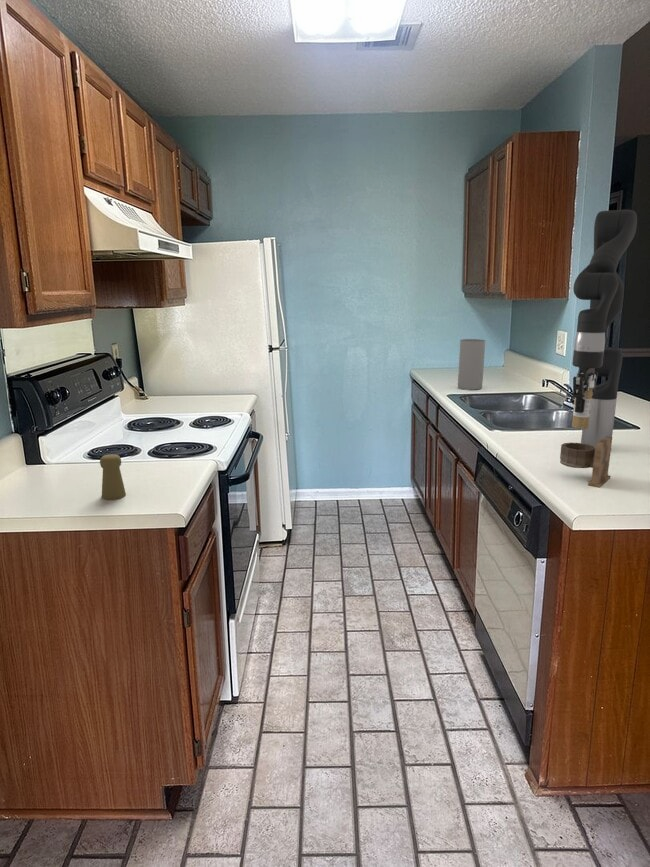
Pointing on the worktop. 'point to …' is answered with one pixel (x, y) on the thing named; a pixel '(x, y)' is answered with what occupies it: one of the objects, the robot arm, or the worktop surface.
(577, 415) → the sprinkles bottle
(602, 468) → the bracket
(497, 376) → the worktop surface
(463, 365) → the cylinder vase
